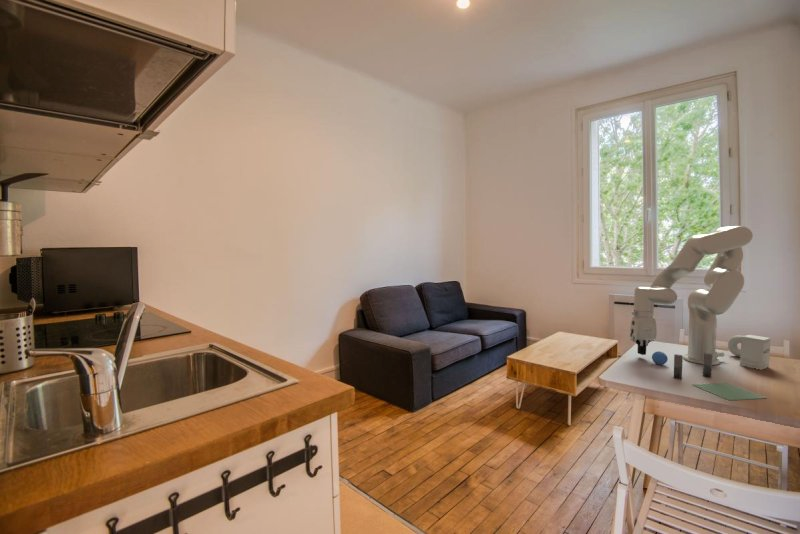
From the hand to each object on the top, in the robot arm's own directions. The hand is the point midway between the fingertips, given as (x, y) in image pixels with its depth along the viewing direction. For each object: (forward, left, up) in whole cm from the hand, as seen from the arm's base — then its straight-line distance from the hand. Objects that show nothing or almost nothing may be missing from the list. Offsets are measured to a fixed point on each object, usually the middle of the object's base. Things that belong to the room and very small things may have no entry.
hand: (641, 353), depth 173 cm
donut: (-44, +6, -2) cm, 45 cm away
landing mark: (0, +40, -2) cm, 40 cm away
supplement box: (-37, +18, -2) cm, 41 cm away
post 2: (-7, +26, -2) cm, 27 cm away
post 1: (+6, +26, -2) cm, 27 cm away
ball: (0, +10, +1) cm, 10 cm away
